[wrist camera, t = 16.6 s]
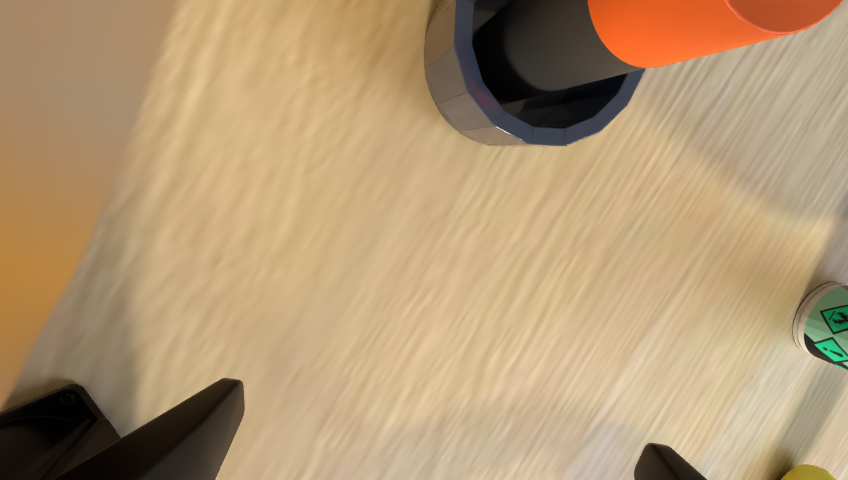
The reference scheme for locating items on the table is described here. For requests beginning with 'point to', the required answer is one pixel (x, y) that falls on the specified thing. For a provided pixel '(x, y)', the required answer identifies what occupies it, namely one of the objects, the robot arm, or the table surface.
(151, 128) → the table surface
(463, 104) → the pen cup
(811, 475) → the yellow potato
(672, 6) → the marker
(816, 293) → the spray can
